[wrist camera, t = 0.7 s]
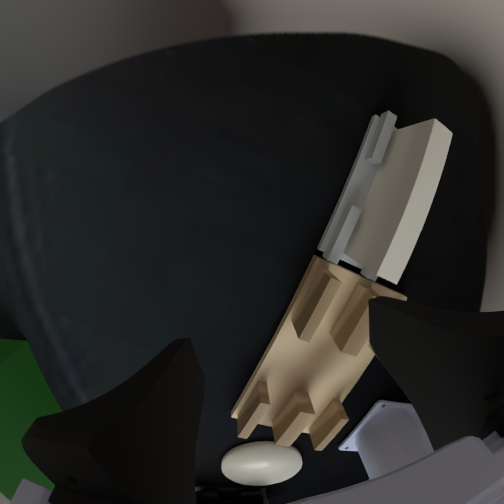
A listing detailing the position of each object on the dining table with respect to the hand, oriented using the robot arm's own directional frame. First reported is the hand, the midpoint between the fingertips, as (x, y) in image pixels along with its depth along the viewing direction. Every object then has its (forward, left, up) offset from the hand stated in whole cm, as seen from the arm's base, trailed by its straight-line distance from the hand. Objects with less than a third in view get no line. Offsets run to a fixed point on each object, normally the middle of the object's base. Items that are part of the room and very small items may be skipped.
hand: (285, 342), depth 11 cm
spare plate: (-9, +21, -10) cm, 25 cm away
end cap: (-9, +31, -10) cm, 34 cm away
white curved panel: (-5, -9, -9) cm, 14 cm away
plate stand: (-5, -9, -10) cm, 14 cm away
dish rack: (-7, +5, -10) cm, 14 cm away
